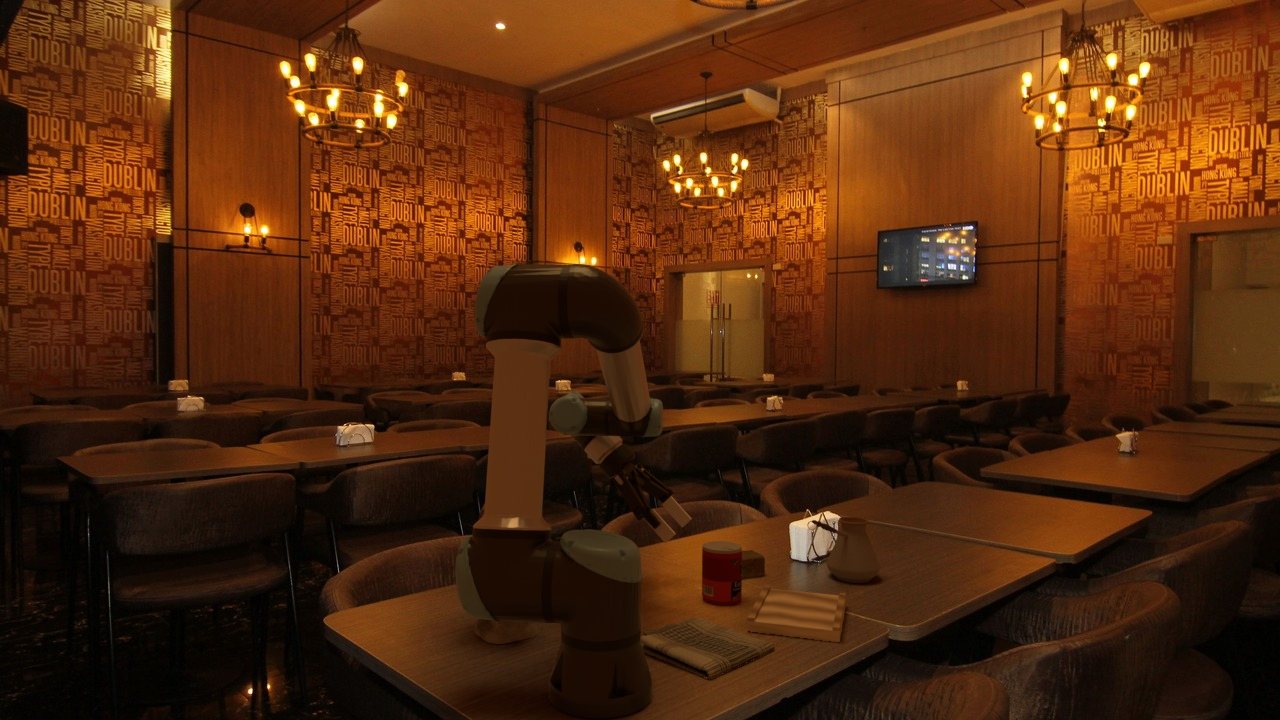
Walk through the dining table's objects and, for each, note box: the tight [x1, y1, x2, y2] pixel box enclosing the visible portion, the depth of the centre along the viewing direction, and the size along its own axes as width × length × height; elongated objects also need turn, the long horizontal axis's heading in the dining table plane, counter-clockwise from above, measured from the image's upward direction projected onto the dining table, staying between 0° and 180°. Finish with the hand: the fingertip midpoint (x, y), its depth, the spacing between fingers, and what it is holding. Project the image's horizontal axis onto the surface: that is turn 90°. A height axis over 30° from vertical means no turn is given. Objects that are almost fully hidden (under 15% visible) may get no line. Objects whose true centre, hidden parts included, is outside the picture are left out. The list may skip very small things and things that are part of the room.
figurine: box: [474, 503, 539, 645], centre depth 139 cm, size 10×14×25 cm
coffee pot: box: [807, 516, 881, 584], centre depth 170 cm, size 21×12×15 cm, turn 131°
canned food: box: [701, 540, 743, 607], centre depth 158 cm, size 8×8×11 cm
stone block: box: [742, 549, 766, 580], centre depth 174 cm, size 6×12×5 cm, turn 116°
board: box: [746, 584, 847, 643], centre depth 147 cm, size 20×16×3 cm
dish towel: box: [641, 617, 776, 680], centre depth 132 cm, size 19×18×3 cm
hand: (679, 530), depth 161 cm, fingers open, 13 cm apart
